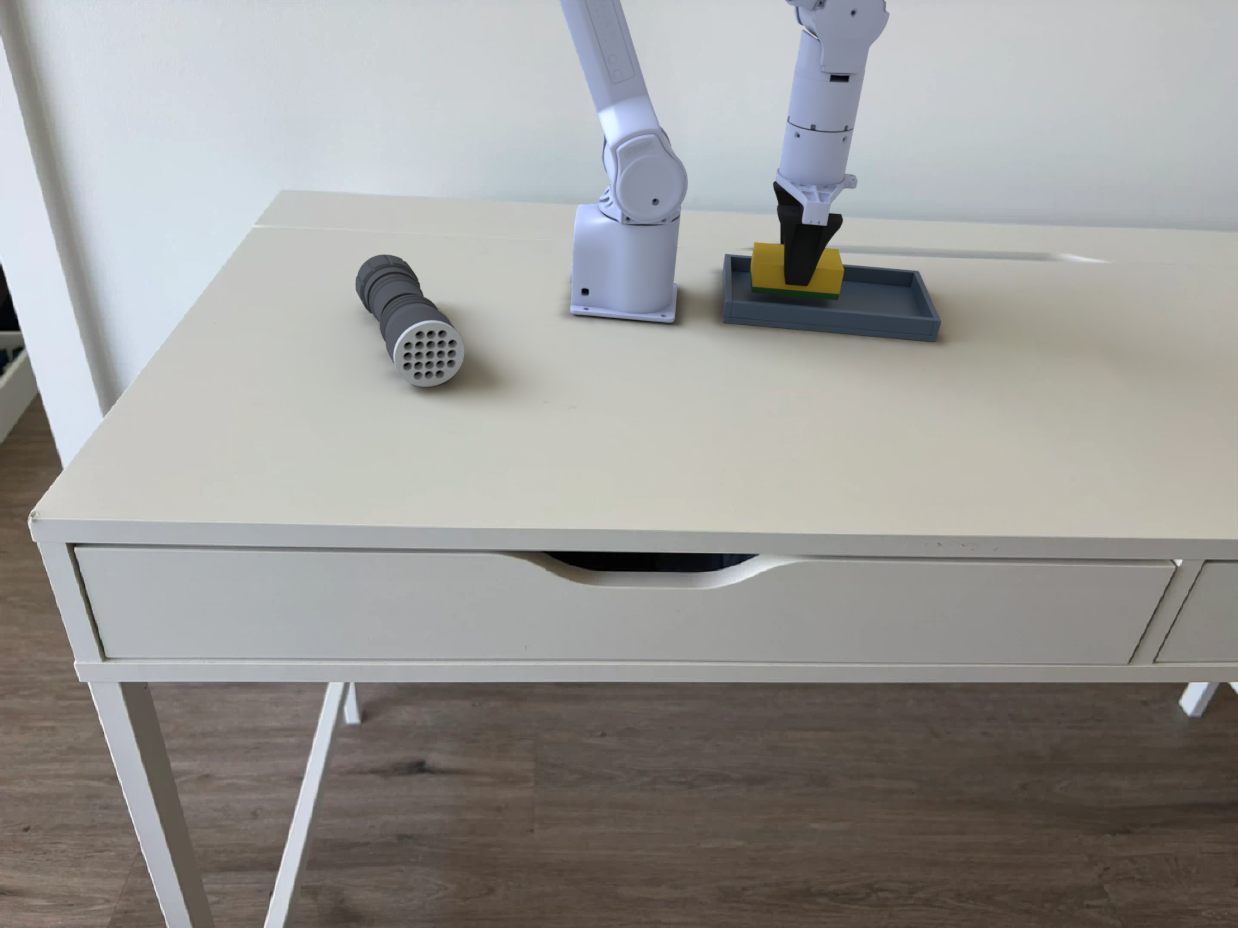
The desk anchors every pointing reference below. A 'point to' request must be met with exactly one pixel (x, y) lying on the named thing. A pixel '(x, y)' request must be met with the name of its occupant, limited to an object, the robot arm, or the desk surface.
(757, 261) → the sponge
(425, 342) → the flashlight
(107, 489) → the desk surface
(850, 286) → the tray
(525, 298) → the desk surface
